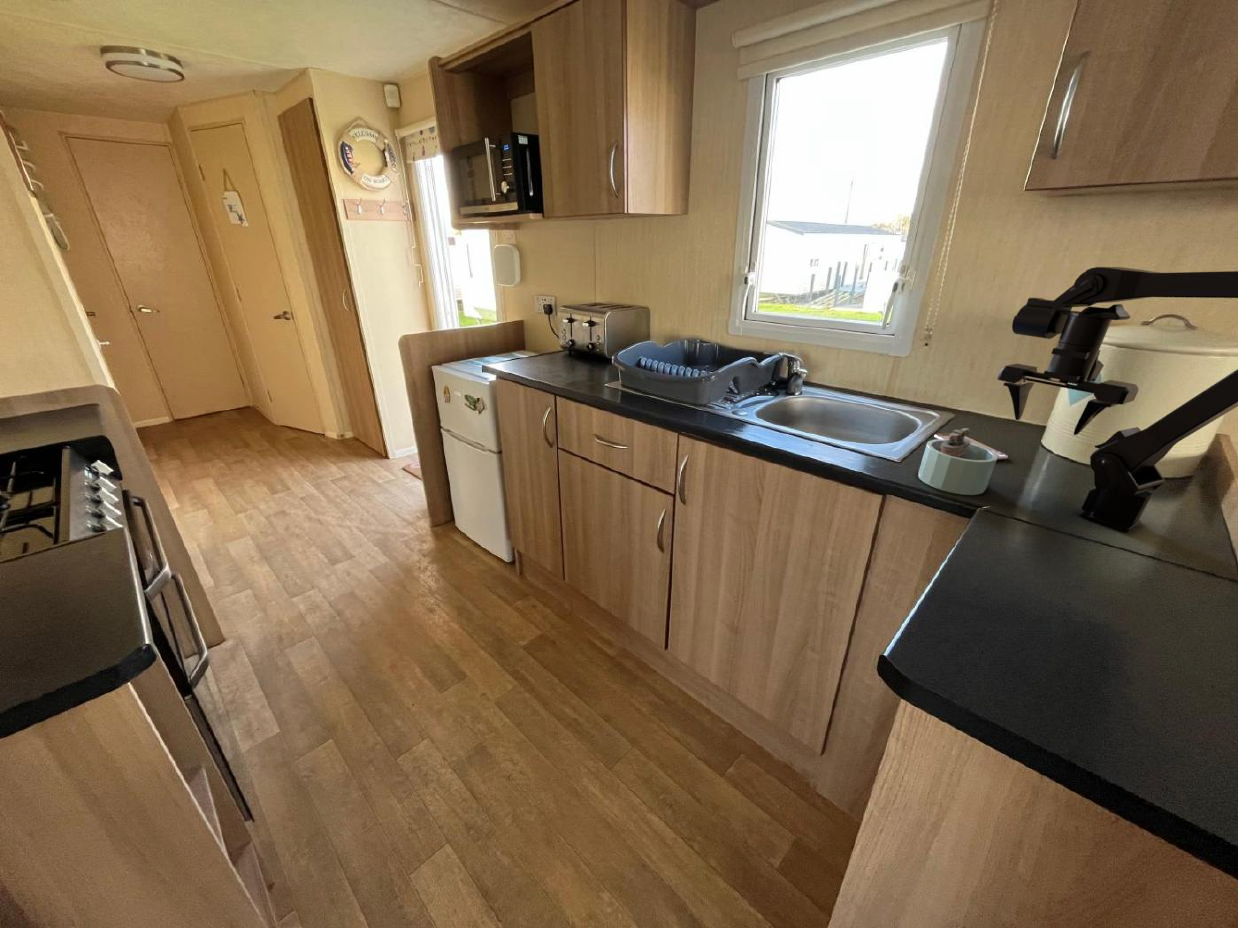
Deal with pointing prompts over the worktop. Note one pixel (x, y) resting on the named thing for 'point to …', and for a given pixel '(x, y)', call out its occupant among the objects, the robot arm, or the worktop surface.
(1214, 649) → the worktop surface
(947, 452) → the lighter
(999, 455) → the mobile phone
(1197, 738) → the worktop surface
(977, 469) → the pale green round tub
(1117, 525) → the robot arm
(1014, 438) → the worktop surface
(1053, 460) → the worktop surface
